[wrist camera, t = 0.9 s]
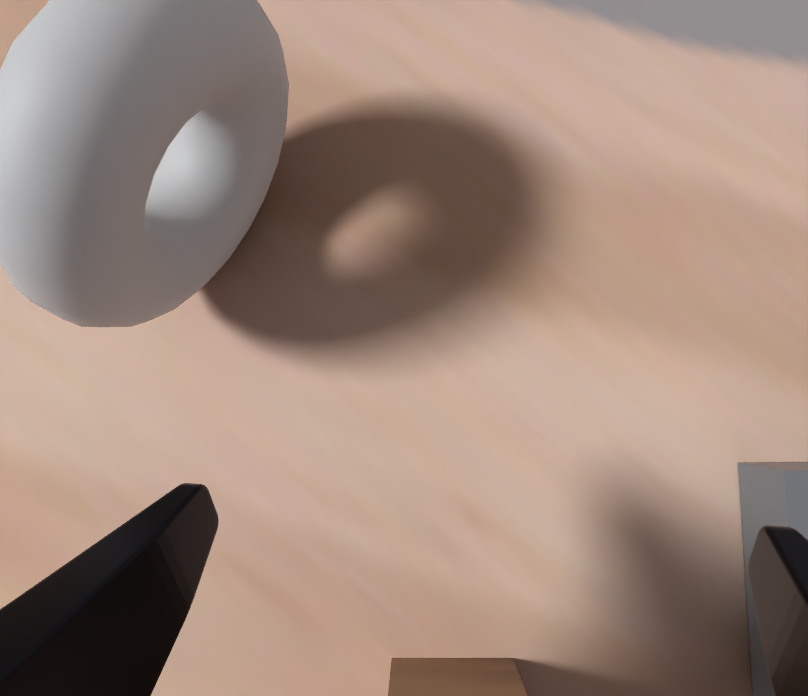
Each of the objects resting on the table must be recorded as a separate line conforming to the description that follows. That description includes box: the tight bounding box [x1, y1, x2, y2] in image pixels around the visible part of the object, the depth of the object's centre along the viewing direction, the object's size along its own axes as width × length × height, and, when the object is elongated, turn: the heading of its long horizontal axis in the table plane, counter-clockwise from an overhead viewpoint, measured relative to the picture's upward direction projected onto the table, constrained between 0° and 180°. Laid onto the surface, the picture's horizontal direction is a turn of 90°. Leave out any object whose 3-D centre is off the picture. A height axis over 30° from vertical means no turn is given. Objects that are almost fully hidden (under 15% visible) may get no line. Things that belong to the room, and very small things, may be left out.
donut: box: [0, 0, 289, 327], centre depth 16 cm, size 10×4×10 cm, turn 151°
